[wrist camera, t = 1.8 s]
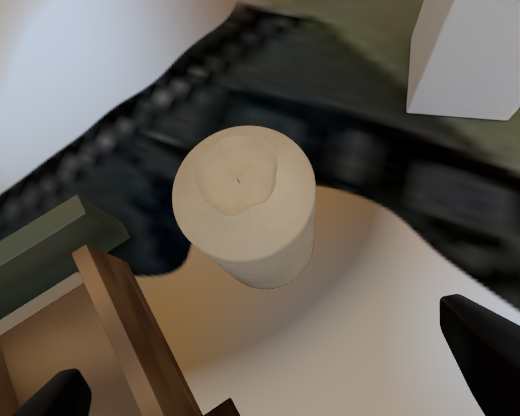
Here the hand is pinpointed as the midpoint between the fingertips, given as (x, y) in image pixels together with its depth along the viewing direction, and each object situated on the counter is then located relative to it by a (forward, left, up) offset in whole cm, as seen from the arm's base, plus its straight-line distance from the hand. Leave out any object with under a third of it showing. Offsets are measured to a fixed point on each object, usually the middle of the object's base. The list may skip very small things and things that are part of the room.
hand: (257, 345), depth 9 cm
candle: (+6, +1, -12) cm, 13 cm away
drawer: (-1, +11, -11) cm, 15 cm away
